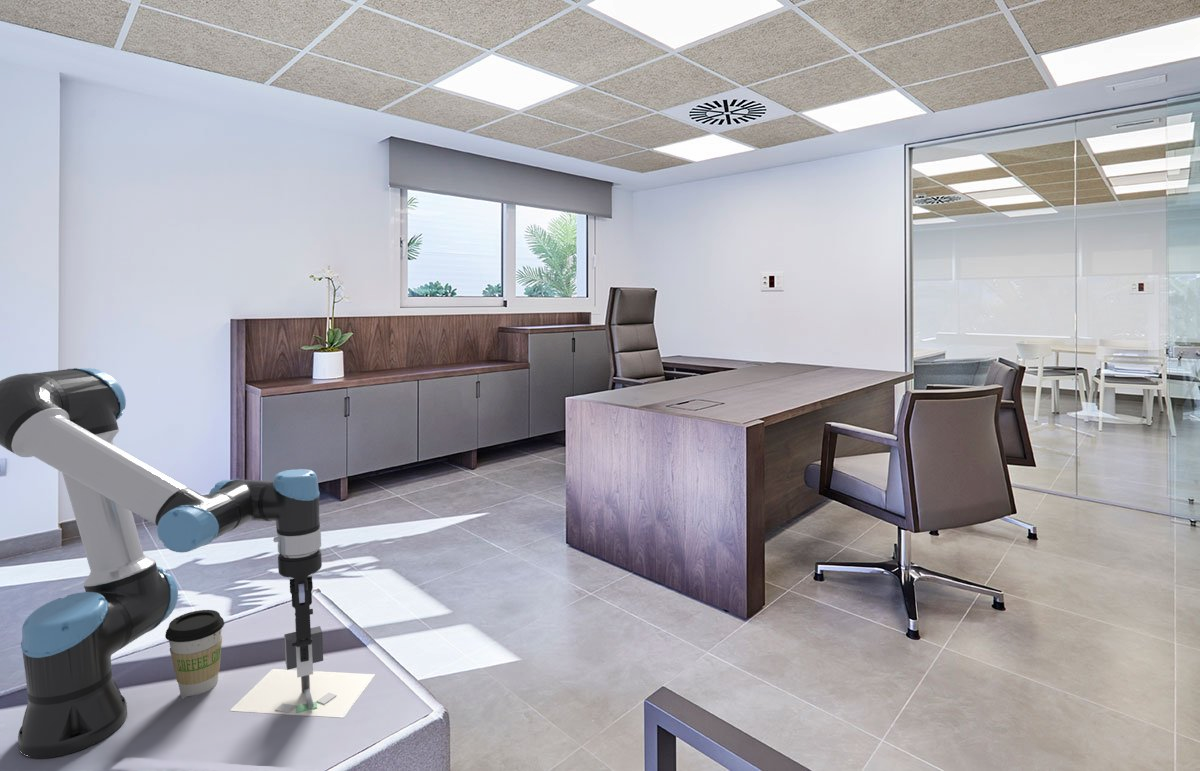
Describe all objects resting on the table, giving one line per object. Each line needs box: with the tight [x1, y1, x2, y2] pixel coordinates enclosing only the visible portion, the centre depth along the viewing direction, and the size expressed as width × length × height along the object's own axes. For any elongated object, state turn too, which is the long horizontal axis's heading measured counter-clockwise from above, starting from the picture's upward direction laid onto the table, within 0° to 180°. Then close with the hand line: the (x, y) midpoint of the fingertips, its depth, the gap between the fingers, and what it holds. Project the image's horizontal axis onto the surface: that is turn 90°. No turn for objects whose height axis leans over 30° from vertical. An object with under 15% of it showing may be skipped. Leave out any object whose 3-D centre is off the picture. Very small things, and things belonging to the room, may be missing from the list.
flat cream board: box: [229, 668, 376, 719], centre depth 125 cm, size 22×14×1 cm, turn 86°
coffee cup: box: [164, 609, 225, 700], centre depth 126 cm, size 10×10×15 cm
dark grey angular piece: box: [283, 625, 324, 709], centre depth 122 cm, size 8×6×12 cm
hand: (304, 661), depth 124 cm, fingers open, 9 cm apart
